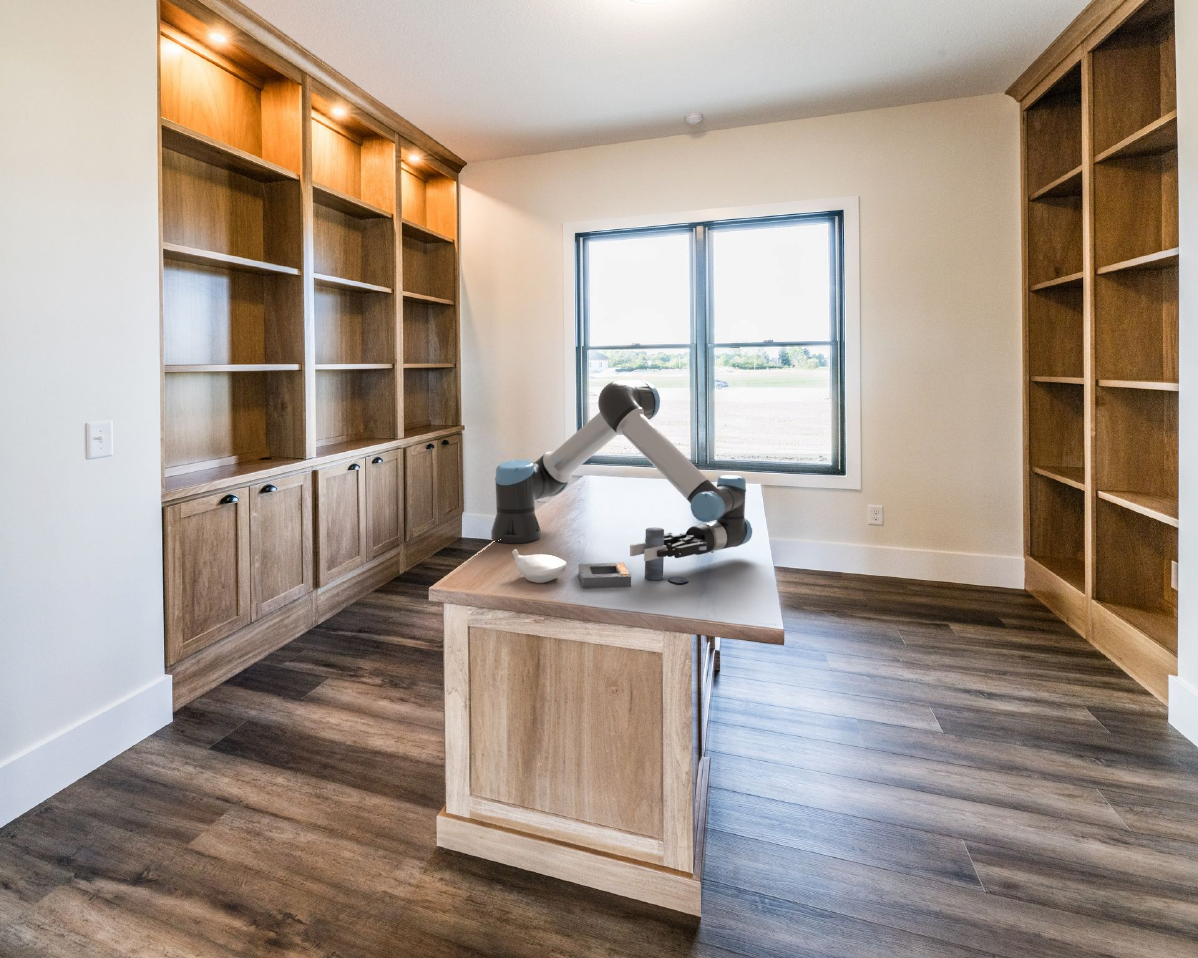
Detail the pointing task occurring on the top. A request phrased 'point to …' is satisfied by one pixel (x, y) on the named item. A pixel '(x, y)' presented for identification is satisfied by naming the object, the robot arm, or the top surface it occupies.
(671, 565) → the top surface
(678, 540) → the robot arm
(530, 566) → the driver head
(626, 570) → the socket block
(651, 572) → the peg
